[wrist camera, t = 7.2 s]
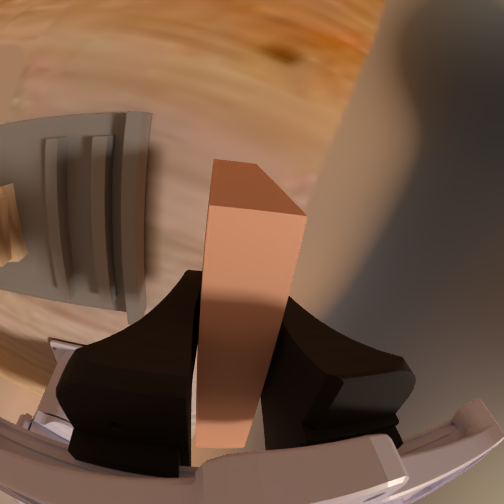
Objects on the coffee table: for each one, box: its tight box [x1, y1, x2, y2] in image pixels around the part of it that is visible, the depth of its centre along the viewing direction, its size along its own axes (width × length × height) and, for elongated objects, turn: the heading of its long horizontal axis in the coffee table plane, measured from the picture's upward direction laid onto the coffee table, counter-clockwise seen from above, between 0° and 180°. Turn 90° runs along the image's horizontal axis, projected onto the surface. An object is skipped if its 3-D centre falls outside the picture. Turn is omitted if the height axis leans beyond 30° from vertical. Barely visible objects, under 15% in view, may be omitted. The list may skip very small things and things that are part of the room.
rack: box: [0, 112, 152, 325], centre depth 16 cm, size 15×17×2 cm
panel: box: [196, 159, 307, 448], centre depth 11 cm, size 10×2×8 cm, turn 171°
